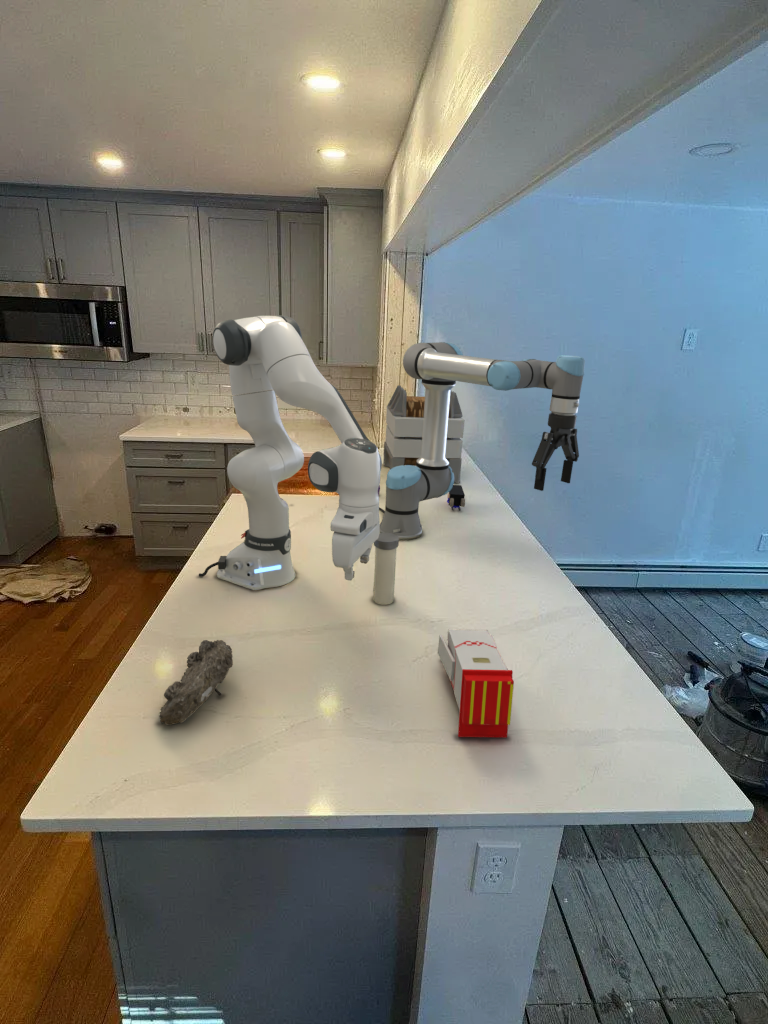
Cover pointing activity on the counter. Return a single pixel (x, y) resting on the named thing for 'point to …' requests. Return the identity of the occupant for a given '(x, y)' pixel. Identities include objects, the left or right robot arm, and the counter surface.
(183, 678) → the fossil
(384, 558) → the jar
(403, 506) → the right robot arm
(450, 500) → the figurine character
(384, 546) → the lid
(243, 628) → the counter surface
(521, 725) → the counter surface
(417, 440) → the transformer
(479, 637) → the toy
